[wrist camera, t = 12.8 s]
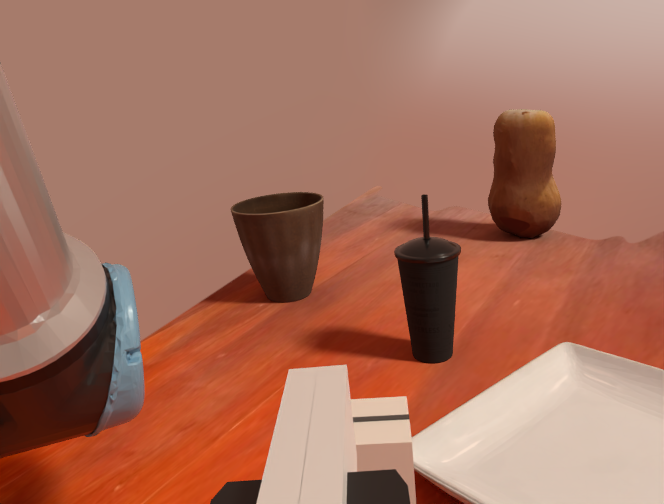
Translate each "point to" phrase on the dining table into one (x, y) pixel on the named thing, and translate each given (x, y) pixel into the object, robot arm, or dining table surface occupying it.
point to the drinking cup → (429, 292)
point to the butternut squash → (524, 173)
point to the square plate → (554, 435)
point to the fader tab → (384, 437)
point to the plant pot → (282, 241)
